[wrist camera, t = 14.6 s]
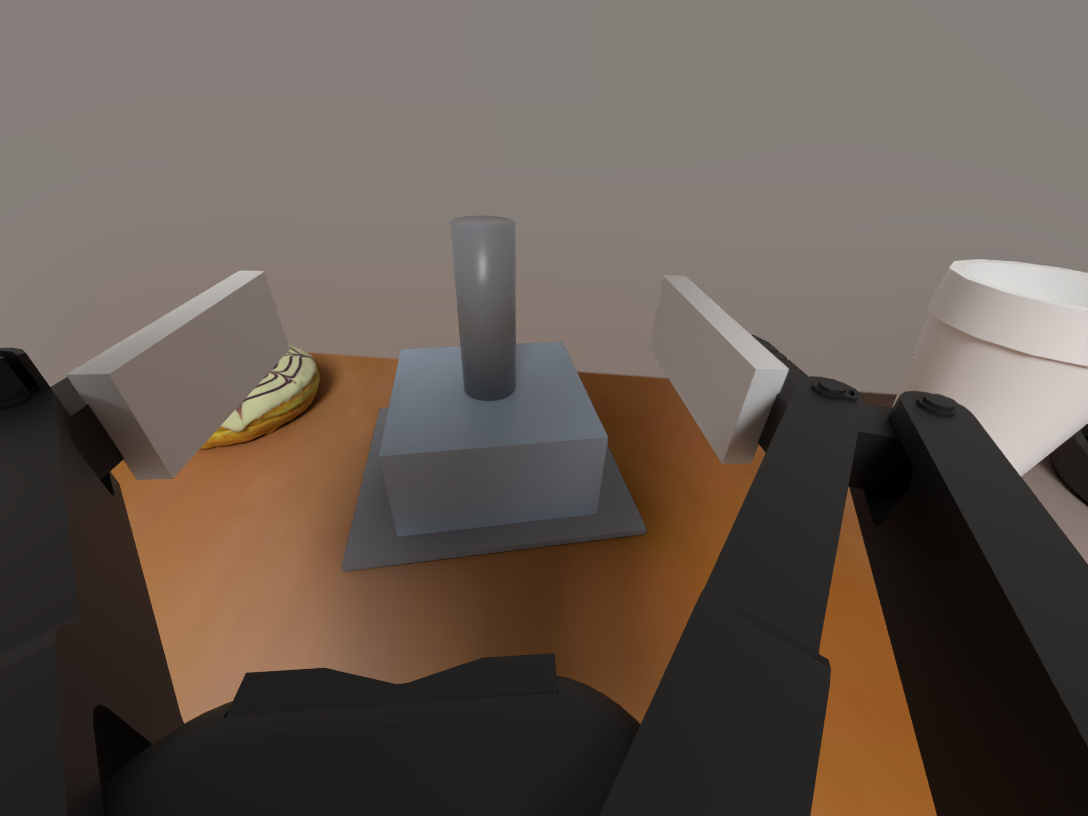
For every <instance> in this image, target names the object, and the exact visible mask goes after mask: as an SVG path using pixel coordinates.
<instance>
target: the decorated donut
mask: <svg viewBox="0 0 1088 816" xmlns="http://www.w3.org/2000/svg"><path fill="white" fill-rule="evenodd" d="M289 346H290V345H289ZM319 380H320V377H319V371H318V369H317V366H316V364H315V363H314V360H313V357H312V356H311V355H310V354H309V353H308V352H306V351H304V350H301V349H299V348H296V347H293V346H290V350H289V351H288V352H287V353H286V354H285V355H284V356H283V357H282V359H281V360H280V361H279V362H278V363H277V364H276V365H275V366H274V367H273V369H272V370H271V371H270V372H269V373H268V374H267V375H266V376H265V377H264V378H263V380H262V381H261V382H260V383H259V384H258V385H257V386H256V387H255V388H254V390H253V391H252V392H251V393H250V394H249V395H248V396H247V397H246V398H245V399H244V401H243V402H242V403H241V404H240V405H239V406H238V407H237V408H236V409H235V411H234V412H233V413H232V414H231V415H230V416H229V417H228V418H227V419H226V421H225V422H224V423H223V424H222V425H221V426H220V427H219V428H218V429H217V430H216V432H215V433H214V434H213V435H212V436H211V437H210V438H209V439H208V440H207V442H206V443H205V444H204V445H203V446H202V447H201V448H200V449H210V448H213V447H215V446H227V445H233V444H235V443H243V442H247V441H250V440H253V439H255V438H257V437H259V436H262V435H263V434H269V433H272V432H274V431H275V430H276V429H277V428H278V427H280V426H282V425H283V424H284V423H287V422H290V421H291V420H293V419H294V418H295V417H296V416H297V415H300V414H301V413H302V412H303V411H305V410H306V409H307V408H308V407H309V405H311V404H312V401H313V400H314V398H315V396H316V393H317V390H318V387H319V385H318V384H319Z"/></svg>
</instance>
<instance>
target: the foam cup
mask: <svg viewBox="0 0 1088 816" xmlns="http://www.w3.org/2000/svg"><path fill="white" fill-rule="evenodd" d="M927 309H928V310H929V311H930V312H929V315H928V317H927V320H926V322H925V325H924V327H923V330H922V333H921V335H920V338H919V340H918V343H917V345H916V348H915V350H914V353H913V355H912V358H911V361H910V363H909V366H908V368H907V371H906V373H905V376H904V378H903V381H902V383H901V386H900V389H899V391H898V394H897V396H896V399H895V401H894V404H893V406H894V405H895V403H896V401H897V400H898V398H899V396H900V395H901V394H902V393H904V392H906V391H921V392H928V393H932V394H941V395H944V396H946V397H949V398H951V399H954V400H955V401H956V402H957V403H959V404H960V405H962V406H964V407H966V408H967V409H968V410H969V411H970V412H971V413H973V414H974V416H975V417H976V418H977V420H978V421H979V422H980V424H981V425H982V426H983V428H984V429H985V430H986V432H987V433H988V434H989V435H990V437H991V438H992V439H993V441H994V442H995V443H996V445H997V446H998V447H999V449H1000V450H1001V451H1002V453H1003V454H1004V455H1005V456H1006V458H1007V459H1008V460H1009V462H1010V463H1011V464H1012V466H1013V467H1014V468H1015V470H1016V471H1017V472H1018V474H1019V475H1020V476H1022V475H1024V474H1025V473H1026V472H1027V471H1029V470H1030V469H1031V468H1032V467H1034V466H1035V465H1036V464H1038V463H1039V462H1040V461H1041V460H1043V459H1044V458H1045V457H1046V456H1048V455H1049V454H1050V453H1051V452H1053V451H1054V450H1055V449H1056V448H1058V447H1059V446H1060V445H1061V444H1063V443H1064V442H1065V441H1066V440H1068V439H1069V438H1070V437H1071V436H1073V435H1074V434H1075V433H1076V432H1078V431H1079V430H1080V429H1081V428H1083V427H1084V426H1085V425H1086V424H1088V273H1085V272H1080V271H1075V270H1070V269H1065V268H1058V267H1050V266H1044V265H1037V264H1029V263H1022V262H1014V261H998V260H983V259H974V260H963V261H954V262H953V264H952V265H951V266H950V268H949V269H948V271H947V273H946V275H945V276H944V278H943V280H942V282H941V283H940V285H939V287H938V289H937V291H936V292H935V294H934V296H933V298H932V300H931V301H930V303H929V305H928V307H927ZM893 406H892V408H893Z"/></svg>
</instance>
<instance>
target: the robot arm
mask: <svg viewBox="0 0 1088 816" xmlns="http://www.w3.org/2000/svg"><path fill="white" fill-rule="evenodd" d="M650 349H651V351H652V352H653V354H654V355H655V357H656V359H657V360H658V362H659V364H660V365H661V367H662V368H663V370H664V372H665V373H666V375H667V376H668V378H669V380H670V381H671V383H672V384H673V386H674V388H675V389H676V391H677V392H678V394H679V396H680V397H681V399H682V400H683V402H684V404H685V405H686V407H687V408H688V410H689V412H690V413H691V415H692V416H693V418H694V419H695V421H696V423H697V424H698V426H699V427H700V429H701V431H702V432H703V434H704V435H705V437H706V439H707V440H708V442H709V443H710V445H711V447H712V448H713V450H714V451H715V453H716V455H717V456H718V458H719V459H720V461H721V463H722V464H741V463H751V462H752V460H753V457H754V455H755V452H756V450H757V447H758V445H760V446H761V447H762V449H763V450H764V451H765V452H766V454H765V456H764V458H763V461H762V463H761V465H760V467H759V469H758V472H757V474H756V476H755V478H754V480H753V483H752V485H751V487H750V489H749V491H748V494H747V496H746V498H745V500H744V502H743V505H742V507H741V509H740V511H739V513H738V516H737V518H736V520H735V522H734V524H733V527H732V529H731V531H730V533H729V535H728V537H727V540H726V542H725V544H724V546H723V548H722V551H721V553H720V555H719V557H718V559H717V562H716V564H715V566H714V568H713V570H712V573H711V575H710V577H709V579H708V581H707V584H706V586H705V588H704V590H703V591H702V592H701V594H700V597H699V599H698V601H697V603H696V605H695V607H694V609H693V612H692V614H691V616H690V618H689V620H688V623H687V625H686V627H685V629H684V631H683V634H682V636H681V638H680V640H679V642H678V644H677V647H676V649H675V651H674V653H673V655H672V658H671V660H670V662H669V664H668V666H667V668H666V671H665V673H664V675H663V677H662V679H661V682H660V684H659V686H658V688H657V690H656V692H655V695H654V697H653V699H652V701H651V703H650V706H649V708H648V710H647V712H646V714H645V717H644V719H643V721H642V723H641V725H640V723H639V722H638V721H637V720H636V719H635V718H634V717H632V716H631V715H630V714H629V713H628V712H627V711H626V710H625V709H623V708H622V707H621V706H620V705H619V704H617V703H616V702H614V701H613V700H612V699H610V698H609V697H607V696H606V695H604V694H603V693H601V692H599V691H597V690H595V689H593V688H592V687H590V686H588V685H585V684H583V683H580V682H578V681H575V680H572V679H569V678H565V677H561V676H557V675H556V667H555V657H554V653H551V654H536V655H520V656H504V657H488V658H480V659H477V660H474V661H471V662H468V663H465V664H462V665H459V666H456V667H454V668H451V669H448V670H445V671H442V672H439V673H436V674H433V675H430V676H427V677H424V678H421V679H418V680H415V681H412V682H409V683H405V684H393V683H389V682H384V681H380V680H375V679H371V678H367V677H362V676H358V675H354V674H349V673H345V672H341V671H336V670H332V669H328V668H315V669H299V670H283V671H268V672H252V673H246V674H245V676H244V678H243V681H242V683H241V685H240V687H239V689H238V691H237V694H236V696H235V698H234V700H233V701H232V702H229V703H226V704H224V705H221V706H219V707H217V708H215V709H212V710H210V711H208V712H205V713H203V714H201V715H199V716H198V717H196V718H194V719H192V720H190V721H188V722H187V723H185V724H184V722H183V720H182V717H181V714H180V710H179V707H178V703H177V699H176V695H175V691H174V688H173V684H172V680H171V676H170V673H169V669H168V665H167V661H166V658H165V654H164V650H163V646H162V643H161V639H160V635H159V631H158V628H157V624H156V620H155V616H154V613H153V609H152V605H151V601H150V597H149V594H148V590H147V586H146V582H145V579H144V575H143V571H142V567H141V564H140V560H139V556H138V552H137V549H136V545H135V541H134V537H133V534H132V530H131V526H130V522H129V519H128V515H127V511H126V507H125V503H124V500H123V496H122V492H121V488H120V485H119V483H118V482H117V480H116V479H115V477H114V476H113V475H112V473H111V472H110V471H111V470H112V469H113V468H114V467H115V466H117V465H118V464H119V463H120V462H121V461H122V460H124V461H125V463H126V464H127V466H128V467H129V469H130V470H131V472H132V473H133V475H134V476H135V478H136V479H137V480H145V479H173V478H174V477H175V476H176V475H177V474H178V472H179V471H180V470H181V469H182V468H183V467H184V466H185V465H186V464H187V463H188V461H189V460H190V459H191V458H192V457H193V456H194V455H195V454H196V453H197V451H198V450H199V449H200V448H201V447H202V446H203V445H204V444H205V443H206V442H207V440H208V439H209V438H210V437H211V436H212V435H213V434H214V433H215V432H216V430H217V429H218V428H219V427H220V426H221V425H222V424H223V423H224V422H225V421H226V419H227V418H228V417H229V416H230V415H231V414H232V413H233V412H234V411H235V409H236V408H237V407H238V406H239V405H240V404H241V403H242V402H243V401H244V399H245V398H246V397H247V396H248V395H249V394H250V393H251V392H252V391H253V390H254V388H255V387H256V386H257V385H258V384H259V383H260V382H261V381H262V380H263V378H264V377H265V376H266V375H267V374H268V373H269V372H270V371H271V370H272V369H273V367H274V366H275V365H276V364H277V363H278V362H279V361H280V360H281V359H282V357H283V356H284V355H285V354H286V353H287V352H288V351H289V350H290V346H289V343H288V340H287V337H286V334H285V331H284V328H283V325H282V322H281V319H280V316H279V313H278V310H277V306H276V303H275V300H274V297H273V294H272V291H271V288H270V285H269V282H268V279H267V276H266V273H265V271H238V272H237V273H235V274H233V275H232V276H230V277H228V278H227V279H225V280H223V281H222V282H220V283H218V284H217V285H215V286H213V287H212V288H210V289H208V290H207V291H205V292H203V293H202V294H200V295H198V296H197V297H195V298H193V299H192V300H190V301H188V302H186V303H185V304H183V305H181V306H180V307H178V308H176V309H175V310H173V311H171V312H170V313H168V314H166V315H165V316H163V317H161V318H160V319H158V320H157V321H155V322H153V323H151V324H150V325H148V326H146V327H145V328H143V329H141V330H140V331H138V332H136V333H135V334H133V335H131V336H130V337H128V338H126V339H124V340H123V341H121V342H119V343H118V344H116V345H114V346H113V347H111V348H109V349H108V350H106V351H104V352H103V353H101V354H99V355H98V356H96V357H95V358H93V359H91V360H89V361H88V362H86V363H84V364H83V365H81V366H79V367H78V368H76V369H74V370H73V371H71V372H69V373H68V374H66V375H67V378H65V379H63V380H62V381H60V382H58V383H57V384H55V385H53V386H52V387H50V386H49V385H48V383H47V382H46V381H45V379H44V378H43V376H42V375H41V374H40V372H39V371H38V369H37V368H36V367H35V365H34V364H33V362H32V361H31V360H30V358H29V357H28V355H27V354H26V353H25V352H24V351H23V350H22V349H16V348H0V816H810V814H811V807H812V801H813V794H814V787H815V780H816V774H817V767H818V760H819V754H820V747H821V740H822V734H823V727H824V720H825V714H826V707H827V700H828V693H829V687H830V673H831V668H830V664H829V660H828V659H826V658H825V657H823V656H821V655H819V647H820V640H821V635H822V629H823V623H824V618H825V612H826V607H827V601H828V596H829V590H830V585H831V579H832V574H833V568H834V563H835V557H836V552H837V546H838V540H839V535H840V529H841V524H842V518H843V513H844V507H845V502H846V496H847V491H848V486H849V488H850V491H851V495H852V499H853V503H854V506H855V510H856V514H857V518H858V521H859V525H860V529H861V533H862V536H863V540H864V544H865V547H866V551H867V555H868V559H869V562H870V566H871V570H872V574H873V577H874V581H875V585H876V589H877V592H878V596H879V600H880V604H881V607H882V611H883V615H884V619H885V622H886V626H887V630H888V634H889V637H890V641H891V645H892V649H893V652H894V656H895V660H896V664H897V667H898V671H899V675H900V678H901V682H902V686H903V690H904V693H905V697H906V701H907V705H908V708H909V712H910V716H911V720H912V723H913V727H914V731H915V735H916V738H917V742H918V746H919V750H920V753H921V757H922V761H923V765H924V768H925V772H926V776H927V780H928V783H929V787H930V791H931V795H932V798H933V802H934V806H935V809H936V813H937V816H1088V564H1087V563H1086V562H1085V560H1084V559H1083V558H1082V556H1081V555H1080V554H1079V552H1078V551H1077V550H1076V548H1075V547H1074V546H1073V544H1072V543H1071V542H1070V540H1069V539H1068V538H1067V537H1066V535H1065V534H1064V533H1063V531H1062V530H1061V529H1060V527H1059V526H1058V525H1057V523H1056V522H1055V521H1054V519H1053V518H1052V517H1051V516H1050V514H1049V513H1048V512H1047V510H1046V509H1045V508H1044V506H1043V505H1042V504H1041V502H1040V501H1039V500H1038V498H1037V497H1036V496H1035V495H1034V493H1033V492H1032V491H1031V489H1030V488H1029V487H1028V485H1027V484H1026V483H1025V481H1024V480H1023V479H1022V477H1021V476H1020V475H1019V474H1018V472H1017V471H1016V470H1015V468H1014V467H1013V466H1012V464H1011V463H1010V462H1009V460H1008V459H1007V458H1006V456H1005V455H1004V454H1003V453H1002V451H1001V450H1000V449H999V447H998V446H997V445H996V443H995V442H994V441H993V439H992V438H991V437H990V435H989V434H988V433H987V432H986V430H985V429H984V428H983V426H982V425H981V424H980V422H979V421H978V420H977V418H976V417H975V416H974V414H973V413H971V412H970V411H969V410H968V409H967V408H966V407H964V406H962V405H960V404H959V403H957V402H956V401H955V400H954V399H951V398H949V397H946V396H944V395H941V394H932V393H928V392H921V391H906V392H904V393H902V394H901V395H900V396H899V398H898V400H897V401H896V403H895V405H894V406H893V408H887V407H881V406H875V405H868V404H863V402H864V400H863V397H862V395H861V394H860V393H859V392H858V391H857V390H856V389H854V388H852V387H850V386H848V385H846V384H844V383H842V382H839V381H836V380H833V379H828V378H824V377H812V376H811V377H808V376H807V375H806V374H805V373H804V372H803V371H801V370H800V369H799V368H798V367H797V366H796V365H794V364H793V363H792V362H791V361H790V360H787V358H786V357H785V356H784V355H783V354H782V353H779V351H778V350H777V349H775V347H773V346H772V345H771V344H770V343H769V342H767V341H765V340H763V339H761V338H759V337H756V336H755V335H750V334H749V333H748V332H747V331H746V330H745V329H744V328H743V327H741V326H740V325H739V324H738V323H737V322H736V321H735V320H734V319H732V318H731V317H730V316H729V315H728V314H727V313H726V312H725V311H723V310H722V309H721V308H720V307H719V306H718V305H717V304H716V303H714V302H713V301H712V300H711V299H710V298H709V297H708V296H707V295H706V294H705V293H703V292H702V291H701V290H700V289H699V288H698V287H697V286H696V285H694V284H693V283H692V282H691V281H690V280H689V279H688V278H687V277H685V276H663V281H662V285H661V291H660V296H659V301H658V306H657V312H656V317H655V322H654V327H653V333H652V338H651V343H650ZM1051 457H1052V462H1053V465H1054V467H1055V469H1056V471H1057V472H1058V474H1059V475H1060V476H1061V478H1062V479H1063V480H1064V481H1065V482H1066V483H1067V484H1068V485H1069V486H1070V487H1071V488H1072V489H1073V490H1074V491H1075V492H1076V493H1077V494H1078V495H1079V496H1081V497H1082V498H1083V499H1084V500H1085V501H1087V502H1088V424H1086V425H1085V426H1084V427H1083V428H1081V429H1080V430H1079V431H1078V432H1076V433H1075V434H1074V435H1073V436H1071V437H1070V438H1069V439H1068V440H1066V441H1065V442H1064V443H1063V444H1061V445H1060V446H1059V447H1058V448H1056V449H1055V450H1054V451H1053V452H1052V455H1051Z"/></svg>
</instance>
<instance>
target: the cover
mask: <svg viewBox="0 0 1088 816" xmlns="http://www.w3.org/2000/svg"><path fill="white" fill-rule="evenodd" d="M450 225H451V237H452V248H453V261H454V274H455V286H456V297H457V310H458V321H459V334H460V346H459V347H438V348H417V349H401V353H400V357H399V362H398V367H397V371H396V376H395V381H394V385H393V390H392V395H391V400H390V404H389V409H388V414H387V418H386V423H385V428H384V433H383V437H382V442H381V447H380V451H379V456H378V457H379V461H380V465H381V469H382V474H383V478H384V482H385V486H386V490H387V495H388V499H389V503H390V507H391V511H392V516H393V520H394V524H395V528H396V532H397V537H399V536H408V535H417V534H425V533H434V532H443V531H452V530H461V529H469V528H478V527H487V526H496V525H505V524H513V523H522V522H531V521H540V520H548V519H557V518H566V517H575V516H584V515H592V514H597V508H598V502H599V495H600V488H601V482H602V475H603V468H604V462H605V455H606V448H607V442H608V436H607V434H606V432H605V430H604V427H603V425H602V423H601V421H600V419H599V417H598V415H597V413H596V411H595V409H594V407H593V404H592V402H591V400H590V398H589V396H588V394H587V392H586V390H585V388H584V386H583V384H582V382H581V379H580V377H579V375H578V373H577V371H576V369H575V367H574V365H573V363H572V361H571V359H570V357H569V354H568V352H567V350H566V348H565V346H564V344H563V342H547V343H526V344H516V329H515V328H516V324H515V323H516V318H515V317H516V316H515V315H516V312H515V311H516V304H515V303H516V301H515V300H516V299H515V297H516V296H515V222H514V221H513V220H510V219H507V218H502V217H495V216H467V217H460V218H456V219H453V220H451V222H450Z"/></svg>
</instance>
